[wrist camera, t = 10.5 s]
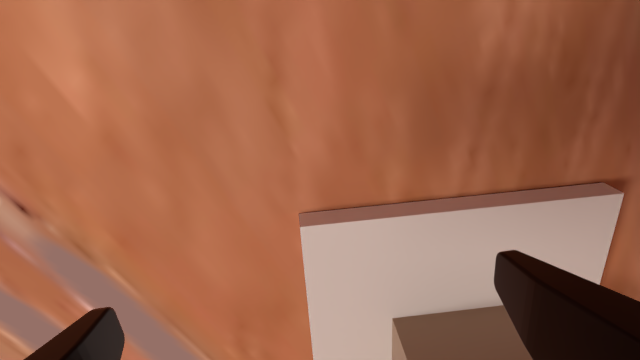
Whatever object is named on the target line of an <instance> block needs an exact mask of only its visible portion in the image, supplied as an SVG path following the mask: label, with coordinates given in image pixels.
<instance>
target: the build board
mask: <svg viewBox="0 0 640 360" xmlns="http://www.w3.org/2000/svg"><path fill="white" fill-rule="evenodd" d="M623 196H624V193H623V192H621V191H619V190H617V189H615V188H613V187H611V186H609V185H608V184H606V183H594V184H584V185H575V186H565V187H555V188H545V189H535V190H526V191H516V192H506V193H496V194H486V195H477V196H467V197H457V198H447V199H437V200H427V201H418V202H408V203H398V204H388V205H378V206H369V207H359V208H349V209H339V210H329V211H320V212H310V213H300V214H299V221H300V232H301V242H302V252H303V262H304V272H305V281H306V291H307V301H308V311H309V321H310V331H311V340H312V350H313V360H533V359H532V358H531V356H530V354H529V353H528V351H527V349H526V348H525V346H524V344H523V342H522V340H521V339H520V337H519V335H518V333H517V331H516V329H515V327H514V325H513V323H512V321H511V319H510V317H509V315H508V313H507V311H506V309H505V307H504V305H503V303H502V301H501V299H500V297H499V295H498V293H497V291H496V289H495V286H494V271H495V261H496V255H497V254H498V253H499V252H501V251H508V250H517V251H520V252H522V253H525V254H527V255H529V256H532V257H534V258H536V259H539V260H541V261H544V262H546V263H548V264H551V265H553V266H556V267H558V268H560V269H563V270H565V271H568V272H570V273H572V274H575V275H577V276H579V277H582V278H584V279H587V280H589V281H591V282H594V283H596V284H599V285H600V281H601V277H602V274H603V270H604V266H605V263H606V259H607V255H608V252H609V248H610V244H611V240H612V237H613V233H614V229H615V226H616V222H617V218H618V215H619V211H620V207H621V204H622V200H623Z"/></svg>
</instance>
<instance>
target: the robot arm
mask: <svg viewBox="0 0 640 360" xmlns="http://www.w3.org/2000/svg"><path fill="white" fill-rule="evenodd" d="M494 286H495V289H496V291H497V293H498V295H499V297H500V299H501V301H502V303H503V305H504V307H505V309H506V311H507V313H508V315H509V317H510V319H511V321H512V323H513V325H514V327H515V329H516V331H517V333H518V335H519V337H520V339H521V340H522V342H523V344H524V346H525V348H526V349H527V351H528V353H529V354H530V356H531V358H532V359H533V360H640V302H639V301H637V300H634V299H632V298H630V297H627V296H625V295H622V294H620V293H618V292H615V291H613V290H611V289H608V288H606V287H603V286H601V285H599V284H596V283H594V282H591V281H589V280H587V279H584V278H582V277H579V276H577V275H575V274H572V273H570V272H568V271H565V270H563V269H560V268H558V267H556V266H553V265H551V264H548V263H546V262H544V261H541V260H539V259H536V258H534V257H532V256H529V255H527V254H525V253H522V252H520V251H517V250H508V251H501V252H499V253H498V254H497V255H496V261H495V271H494ZM124 341H125V339H124V333H123V330H122V328H121V325H120V323H119V320H118V318H117V315H116V313H115V311H114V309H113V308H111V307H105V308H98V309H93V310H91V311H89V312H88V313H86V314H85V315H84V316H82V317H81V318H80V319H78V320H77V321H76V322H74V323H73V324H72V325H70V326H69V327H67V328H66V329H65V330H63V331H62V332H61V333H59V334H58V335H57V336H55V337H54V338H53V339H52V340H50V341H49V342H47V343H46V344H45V345H43V346H42V347H40V348H39V349H38V350H36V351H35V352H34V353H32V354H31V355H29V356H28V357H27V358H25V359H24V360H120V359H121V355H122V351H123V347H124Z"/></svg>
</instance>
